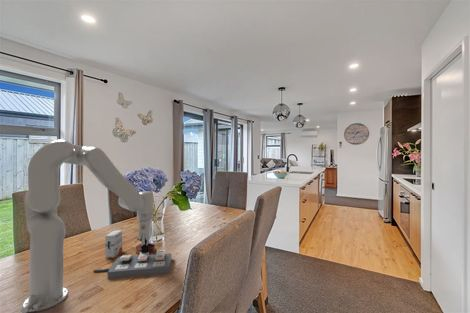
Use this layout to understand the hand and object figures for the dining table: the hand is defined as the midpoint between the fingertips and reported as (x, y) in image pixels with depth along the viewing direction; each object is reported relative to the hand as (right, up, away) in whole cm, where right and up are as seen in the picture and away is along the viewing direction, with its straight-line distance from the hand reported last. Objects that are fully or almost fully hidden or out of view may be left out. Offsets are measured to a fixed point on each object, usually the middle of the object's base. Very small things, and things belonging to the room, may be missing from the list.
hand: (145, 252), depth 109 cm
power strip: (-3, -6, -6) cm, 9 cm away
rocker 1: (-8, -1, -5) cm, 9 cm away
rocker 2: (0, -1, -3) cm, 3 cm away
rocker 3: (+8, -1, -1) cm, 8 cm away
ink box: (-21, -5, +9) cm, 23 cm away
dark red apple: (-5, -6, +13) cm, 16 cm away
